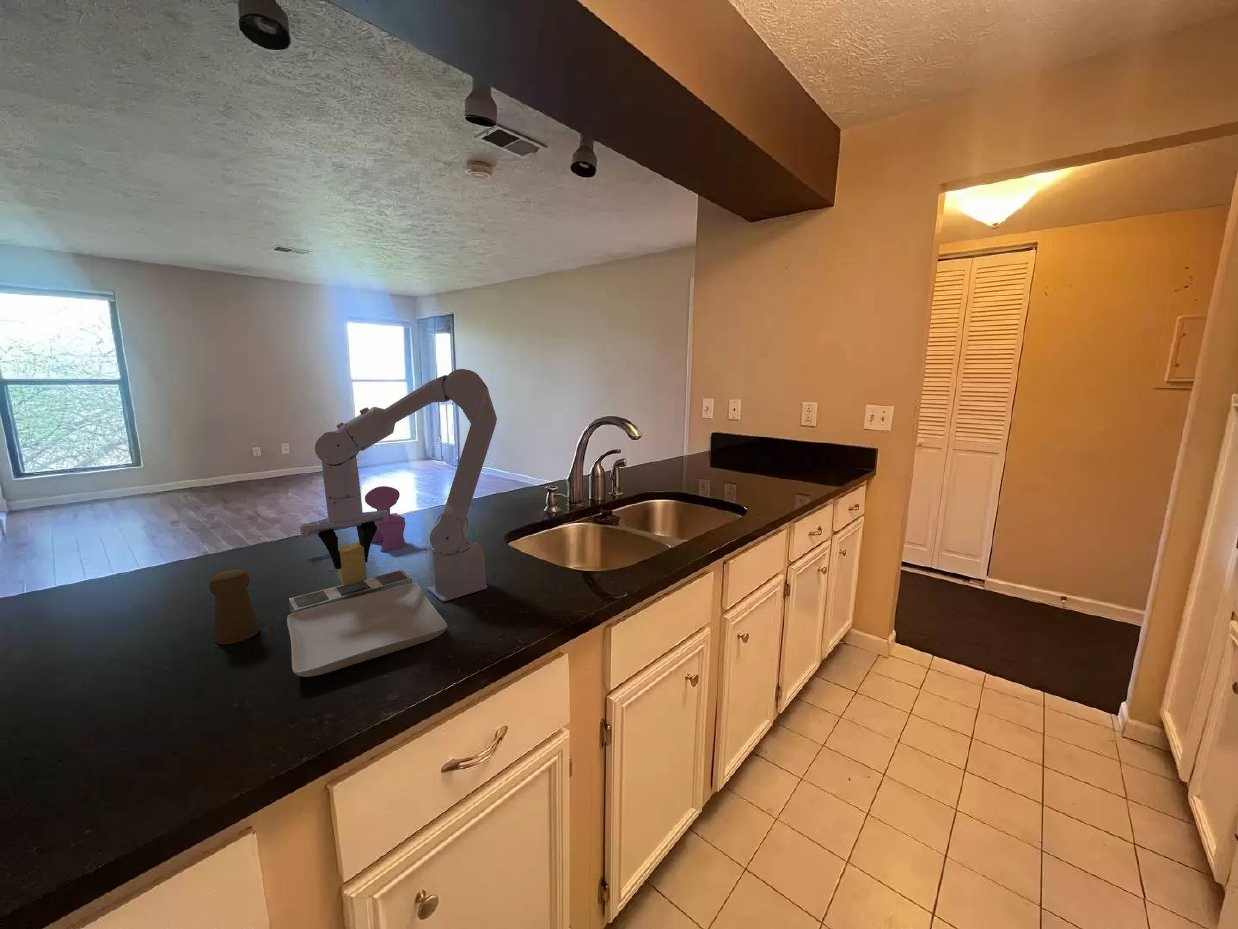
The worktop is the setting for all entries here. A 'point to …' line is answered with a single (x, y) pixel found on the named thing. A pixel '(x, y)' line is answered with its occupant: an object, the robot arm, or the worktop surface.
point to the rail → (349, 591)
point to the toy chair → (395, 526)
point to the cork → (233, 607)
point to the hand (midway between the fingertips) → (351, 564)
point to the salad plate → (361, 629)
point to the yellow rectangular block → (351, 564)
